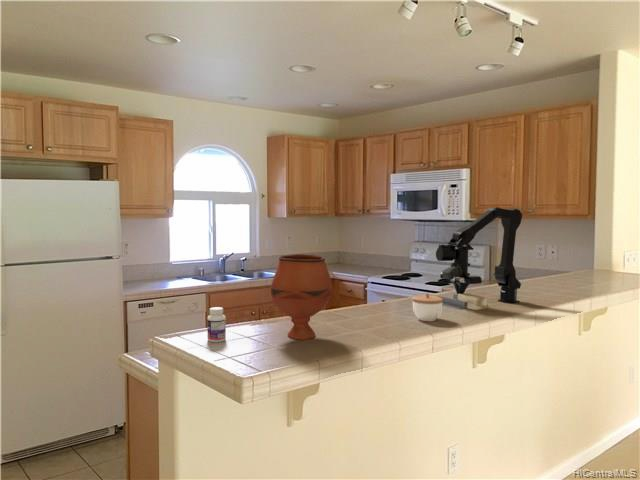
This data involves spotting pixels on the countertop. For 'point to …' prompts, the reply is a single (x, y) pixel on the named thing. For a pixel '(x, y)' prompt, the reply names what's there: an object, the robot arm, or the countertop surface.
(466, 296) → the ash block
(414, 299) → the lidded jar
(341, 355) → the countertop surface
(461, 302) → the chute
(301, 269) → the goblet
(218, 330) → the pill bottle
